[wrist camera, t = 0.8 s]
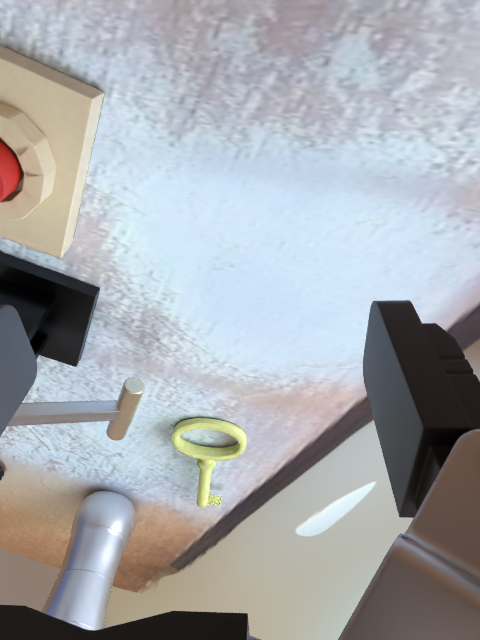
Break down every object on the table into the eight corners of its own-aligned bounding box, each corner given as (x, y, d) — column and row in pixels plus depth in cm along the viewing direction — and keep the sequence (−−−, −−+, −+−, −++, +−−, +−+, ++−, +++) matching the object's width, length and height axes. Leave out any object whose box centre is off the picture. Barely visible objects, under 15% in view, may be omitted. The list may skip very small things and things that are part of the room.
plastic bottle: (133, 520, 54) (75, 741, 38) (78, 506, 53) (-6, 728, 37) (146, 492, 51) (88, 723, 35) (87, 477, 50) (-2, 708, 34)
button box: (-53, 20, 25) (-102, 24, 22) (105, 92, 27) (82, 105, 23) (-57, 196, 31) (-95, 219, 28) (72, 244, 33) (50, 272, 29)
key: (199, 493, 50) (197, 510, 48) (167, 419, 43) (163, 436, 42) (262, 488, 49) (262, 505, 47) (240, 411, 42) (238, 429, 40)
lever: (141, 371, 32) (148, 398, 30) (122, 419, 35) (128, 445, 33) (-87, 370, 25) (-93, 405, 23) (-85, 429, 28) (-91, 463, 26)
